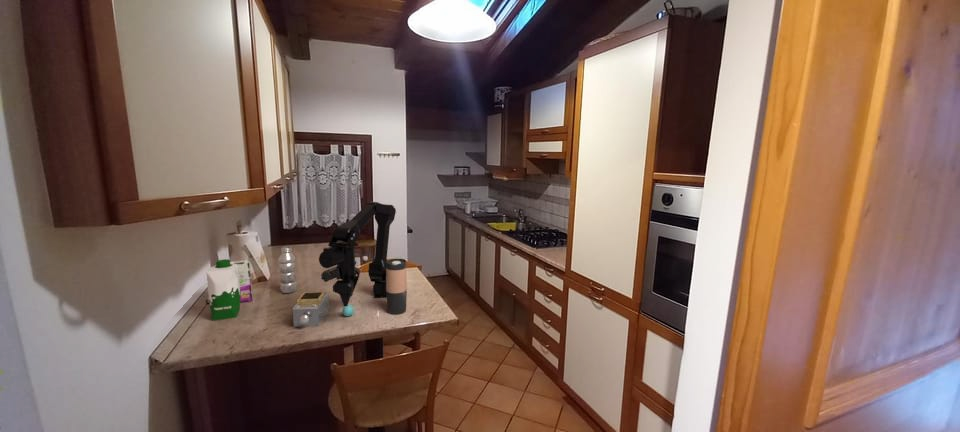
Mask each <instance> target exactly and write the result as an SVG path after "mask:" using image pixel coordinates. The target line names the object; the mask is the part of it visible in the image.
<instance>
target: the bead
mask: <svg viewBox="0 0 960 432" xmlns="http://www.w3.org/2000/svg"><path fill="white" fill-rule="evenodd" d="M341 312H342V314H343V316H345V317H351V316H352V315H353V314H354V312H355V308H354V307H353V305H350V304H348V305H347V306H343V308H342V311H341Z"/></svg>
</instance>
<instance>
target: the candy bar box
mask: <svg viewBox="0 0 960 432" xmlns="http://www.w3.org/2000/svg"><path fill="white" fill-rule="evenodd" d="M230 264H237V267H238V276H239V286H240V303H246V302H252V301H253V297H254V296H253V294H254V293H253V286H252V285H253V284H252V275H251V274H252V273H251V265H250V264H251V263H250V259H239V260H230ZM214 266H216V263H215V264H214Z"/></svg>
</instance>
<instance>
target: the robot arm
mask: <svg viewBox="0 0 960 432" xmlns="http://www.w3.org/2000/svg"><path fill="white" fill-rule="evenodd" d="M396 214H397V210H396V207H395V206H394V205H393V204H384V203H380V202H378V201H367V202H366V203H365V206H363V207H362V208H361V210H360V211H359V212H358V213H357V214H355V216H353V217H352V218H351V219H350V220H348V221H346V222H343V223H341V224H339V225H338V226H337V227H335V229H334V231H333V234H332V236H331V238H330V240H329V242H328V245H327V246H328V247H323V251H322V252H320V254H319V257H318V262H319V265H320V266H321V267H323V268H324V269H326V270H323V272H321V274H320V276H321V278H320V279H321V280H322V281H323V282H324V283H327V282H329V281H331V280H335V279H336V280H337V281H335V282H334V284H333V285H332V292H334V293H335V294H338V295H339V296H340V298H341V301H342V302H341V303H342V305H343V307H345V306H347V305H349V304H350V303H349V302H350V299H351V297H353V294H354V292H355V289H356V286H357V284H358V282H359V278H360V275H361V269H360V268H359V267H356V265H357V260H356V253H355V251H356V247H358V246H359V243H357V242H356V241H357V239H358V238H359V237H360V235H361V230H362V229H363V228H364V226H366V224H368V223H369V222H370V220H371V219H372V218H373V217H374V220H375V222H376V224H377V228H376V241H375V250H374V251H375V252H374V259H373V260H372V261H371V262H369V263H368V270H367V273H368V278H369V279H370V282H373V286H372V295H373V298H376V299H377V298H387V294H386V261H387V260H388V249H389V239H390V238H389V237H390V228H391V224H392V223H393V222H394V221H395V216H396Z"/></svg>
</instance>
